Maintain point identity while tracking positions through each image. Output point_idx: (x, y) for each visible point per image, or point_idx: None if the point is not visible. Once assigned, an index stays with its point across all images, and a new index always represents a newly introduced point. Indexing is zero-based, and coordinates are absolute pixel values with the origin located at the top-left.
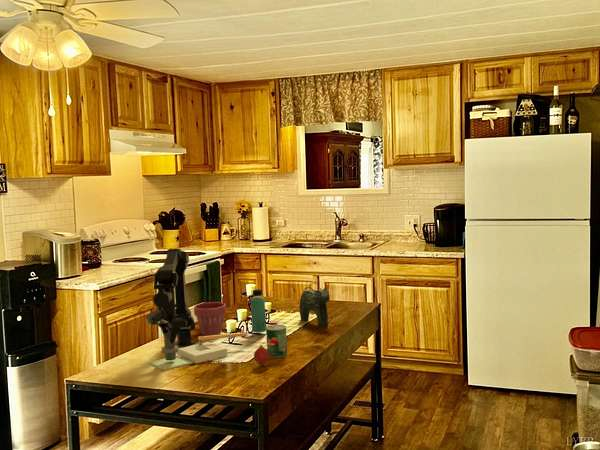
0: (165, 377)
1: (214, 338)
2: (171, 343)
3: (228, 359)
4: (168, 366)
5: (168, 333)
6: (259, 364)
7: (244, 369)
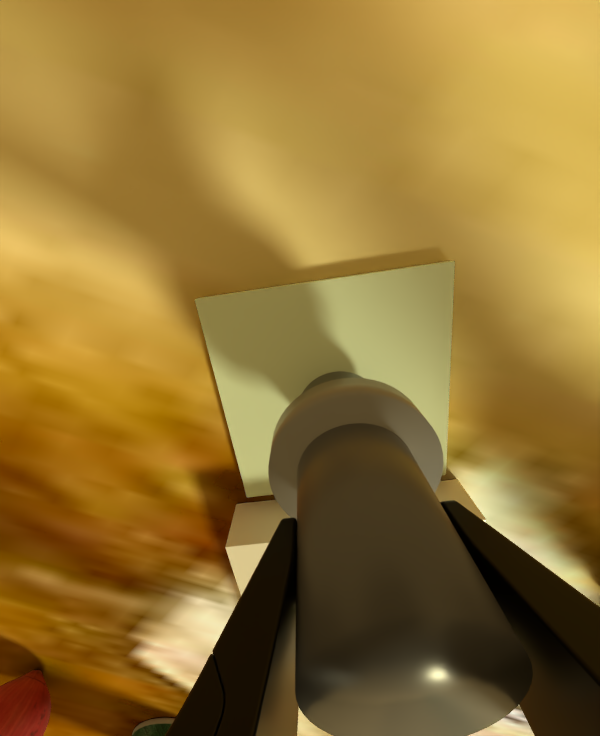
0: (7, 246)
1: None
2: (284, 518)
3: (213, 623)
4: (234, 348)
5: (407, 681)
6: (23, 676)
7: (14, 618)
